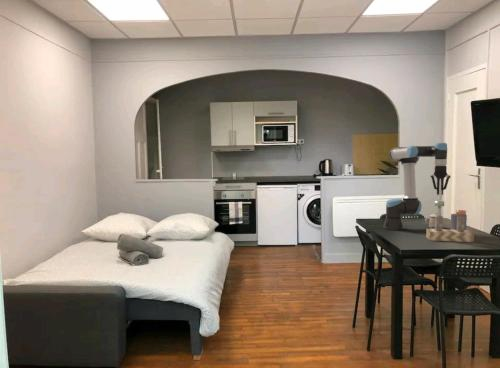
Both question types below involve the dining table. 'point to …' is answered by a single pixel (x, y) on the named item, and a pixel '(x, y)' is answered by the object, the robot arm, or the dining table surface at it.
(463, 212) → the terracotta plunger
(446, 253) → the dining table surface
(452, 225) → the container
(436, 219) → the press stand
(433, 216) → the teacup with lid
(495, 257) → the dining table surface
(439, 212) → the sage plunger
